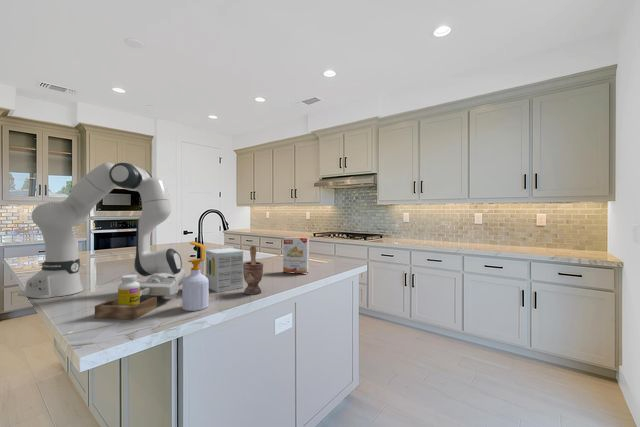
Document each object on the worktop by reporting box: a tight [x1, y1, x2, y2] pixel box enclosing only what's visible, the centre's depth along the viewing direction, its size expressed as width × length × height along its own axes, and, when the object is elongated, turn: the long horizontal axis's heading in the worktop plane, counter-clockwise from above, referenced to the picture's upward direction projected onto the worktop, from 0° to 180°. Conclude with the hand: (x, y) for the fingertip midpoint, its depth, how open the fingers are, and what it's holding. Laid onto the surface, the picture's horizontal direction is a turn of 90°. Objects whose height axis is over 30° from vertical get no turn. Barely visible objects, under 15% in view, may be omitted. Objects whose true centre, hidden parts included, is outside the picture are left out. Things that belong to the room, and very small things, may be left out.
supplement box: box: [205, 247, 244, 293], centre depth 146 cm, size 13×13×18 cm
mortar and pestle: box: [243, 245, 264, 295], centre depth 139 cm, size 12×9×20 cm
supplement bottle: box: [117, 274, 141, 306], centre depth 111 cm, size 7×7×13 cm
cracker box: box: [282, 236, 310, 274], centre depth 180 cm, size 14×6×21 cm, turn 81°
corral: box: [94, 296, 158, 321], centre depth 110 cm, size 14×12×4 cm
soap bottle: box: [181, 241, 210, 312], centre depth 116 cm, size 9×9×25 cm
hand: (135, 293), depth 114 cm, fingers closed, pressing on supplement bottle
